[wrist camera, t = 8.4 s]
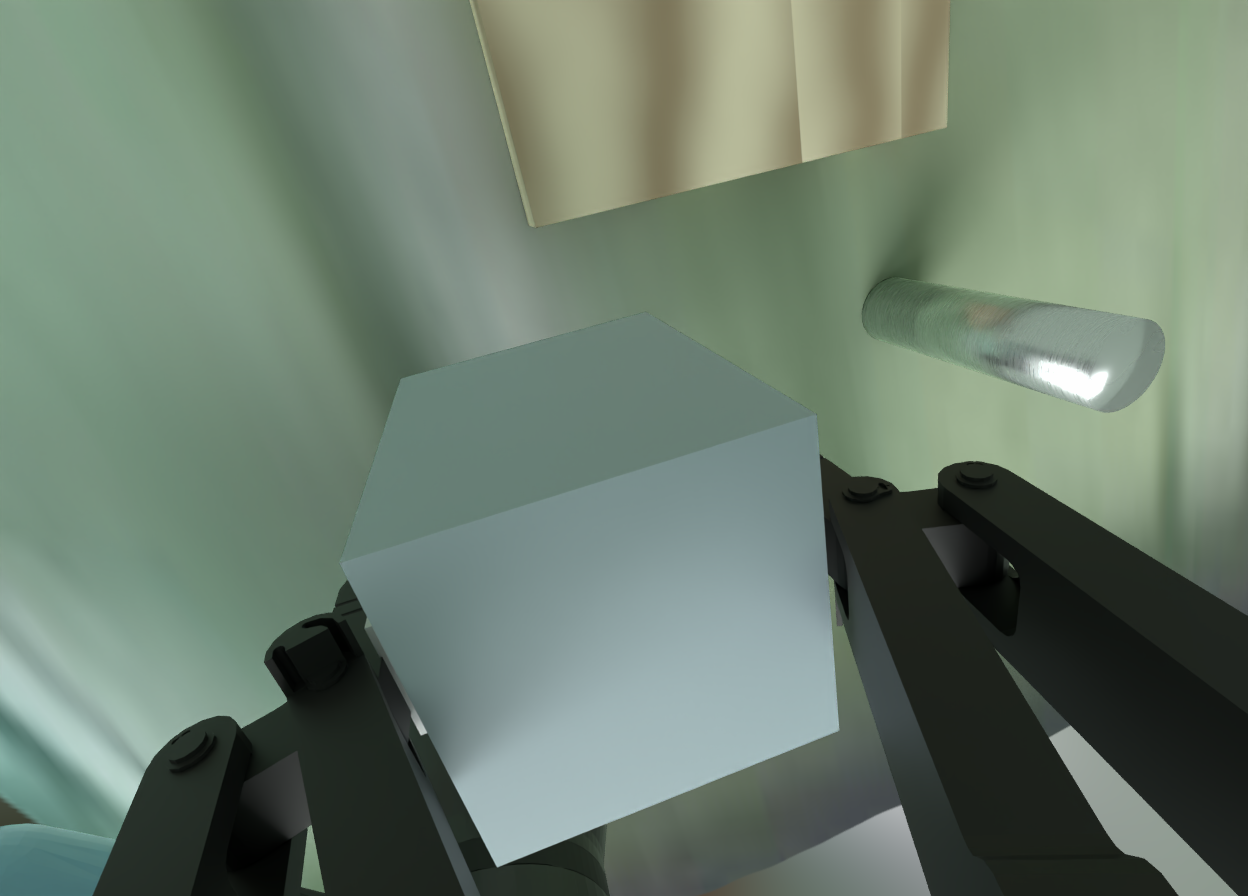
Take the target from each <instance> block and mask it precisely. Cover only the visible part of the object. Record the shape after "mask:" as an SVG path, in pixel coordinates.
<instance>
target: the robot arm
mask: <svg viewBox="0 0 1248 896" xmlns="http://www.w3.org/2000/svg"><path fill="white" fill-rule="evenodd" d="M819 455H820V454H819ZM820 469H821V483H822V497H823V511H824V525H825V539H826V553H827V567H828V574H829V575H830V576H831V577H832V579H833V580H834V587H835V602H836V618H837V626H843V624H844V627H845V630H846V633H847V636H848V639H849V642H850V645H851V649H852V652H853V655H854V658H855V661H856V664H857V667H858V670H859V673H860V677H861V680H862V683H863V686H864V689H865V692H866V695H867V698H868V701H869V705H870V708H871V711H872V714H873V717H874V720H875V723H876V726H877V729H878V732H879V736H880V739H881V742H882V745H883V748H884V751H885V754H886V757H887V760H888V764H889V767H890V770H891V773H892V776H893V779H894V782H895V785H896V788H897V791H898V795H899V798H900V801H901V804H902V807H903V810H904V813H905V816H906V819H907V823H908V825H909V829H910V832H911V835H912V838H913V841H914V844H915V847H916V850H917V853H918V857H919V860H920V863H921V866H922V869H923V872H924V875H925V878H926V881H927V884H928V888H929V891H930V894H931V896H1178V894H1177V893H1176V892H1175V890H1174V889H1173V888H1172V887H1171V885H1170V884H1169V883H1168V881H1167V880H1166V879H1165V878H1164V876H1163V875H1162V873H1161V872H1159V871H1158V870H1157V869H1156V868H1155V867H1154V866H1152V865H1151V864H1150V863H1149V862H1148V861H1147V860H1145V859H1143V858H1139V857H1135V856H1131V855H1126V854H1124V853H1123V852H1122V851H1121V850H1120V849H1118V848H1117V847H1116V846H1115V844H1114V843H1113V842H1112V840H1111V839H1110V837H1109V836H1108V834H1107V833H1106V831H1105V830H1104V828H1103V827H1102V825H1101V823H1100V822H1099V820H1098V818H1097V817H1096V815H1095V813H1094V812H1093V810H1092V808H1091V807H1090V805H1089V803H1088V802H1087V800H1086V798H1085V797H1084V795H1083V793H1082V792H1081V790H1080V788H1079V787H1078V785H1077V784H1076V782H1075V780H1074V779H1073V777H1072V775H1071V774H1070V772H1069V770H1068V769H1067V767H1066V765H1065V764H1064V762H1063V761H1062V759H1061V757H1060V756H1059V754H1058V752H1057V751H1056V749H1055V747H1054V746H1053V744H1052V742H1051V741H1050V739H1049V737H1048V736H1047V734H1046V732H1045V731H1044V729H1043V728H1042V726H1041V724H1040V723H1039V721H1038V719H1037V718H1036V716H1035V714H1034V713H1033V711H1032V709H1031V708H1030V706H1029V704H1028V703H1027V701H1026V700H1025V698H1024V696H1023V695H1022V693H1021V691H1020V690H1019V688H1018V686H1017V685H1016V683H1015V681H1014V680H1013V678H1012V676H1011V675H1010V673H1009V672H1008V670H1007V668H1006V667H1005V665H1004V663H1003V662H1002V660H1001V658H1000V657H999V655H998V653H997V652H996V650H997V651H998V652H999V653H1000V654H1001V655H1002V656H1003V657H1004V658H1005V659H1006V660H1007V661H1008V662H1009V663H1010V664H1011V665H1012V666H1013V667H1014V668H1015V669H1016V670H1017V671H1018V672H1019V673H1020V674H1021V675H1022V676H1023V677H1024V678H1025V679H1026V680H1027V681H1028V682H1029V683H1030V684H1031V685H1032V686H1033V687H1034V688H1035V689H1036V690H1037V691H1038V692H1039V693H1040V694H1041V695H1042V697H1043V698H1044V699H1045V700H1046V701H1047V702H1048V703H1049V704H1050V705H1051V706H1052V707H1053V708H1054V709H1055V710H1056V711H1057V712H1058V713H1059V714H1060V715H1061V716H1062V717H1063V718H1064V719H1065V720H1066V721H1067V722H1068V723H1069V724H1070V725H1071V726H1072V727H1073V728H1074V729H1075V730H1076V731H1077V732H1078V733H1079V734H1080V735H1081V736H1082V737H1083V738H1084V739H1085V740H1086V741H1087V742H1088V743H1089V744H1090V745H1091V746H1092V747H1093V748H1094V749H1095V750H1096V751H1097V752H1098V753H1099V754H1100V755H1101V756H1102V757H1103V759H1104V760H1106V762H1107V763H1109V765H1110V766H1112V767H1113V769H1114V770H1115V771H1116V772H1117V773H1118V774H1119V775H1120V776H1121V777H1122V778H1123V779H1124V780H1125V781H1126V782H1127V783H1128V784H1129V785H1130V786H1131V787H1132V788H1133V789H1134V790H1135V791H1136V792H1137V793H1138V794H1139V795H1140V796H1141V797H1142V798H1143V799H1144V800H1145V801H1146V802H1147V803H1148V804H1149V805H1150V806H1151V807H1152V808H1153V809H1154V810H1155V811H1156V812H1157V813H1158V814H1159V815H1160V816H1161V817H1162V818H1163V819H1164V821H1165V822H1167V824H1168V825H1170V827H1172V829H1173V830H1174V831H1175V832H1176V833H1177V834H1178V835H1179V836H1180V837H1181V838H1182V839H1183V840H1184V841H1185V842H1186V843H1187V844H1188V845H1189V846H1190V847H1191V848H1192V849H1193V850H1194V851H1195V852H1196V853H1197V854H1198V855H1199V856H1200V857H1201V858H1202V859H1203V860H1204V861H1205V862H1206V863H1207V864H1208V865H1209V866H1210V867H1211V868H1212V869H1213V870H1214V871H1215V872H1216V873H1217V874H1218V875H1219V876H1220V877H1221V878H1222V879H1223V880H1224V882H1226V884H1228V885H1229V887H1230V888H1231V889H1232V890H1233V891H1234V892H1235V893H1236V894H1237V895H1238V896H1248V616H1247V615H1245V614H1244V613H1242V612H1240V611H1239V610H1237V609H1235V608H1234V607H1232V606H1230V605H1229V604H1227V603H1226V602H1224V601H1222V600H1221V599H1219V598H1217V597H1216V596H1214V595H1212V594H1211V593H1209V592H1207V591H1206V590H1204V589H1203V588H1201V587H1199V586H1198V585H1196V584H1194V583H1193V582H1191V581H1189V580H1188V579H1186V578H1185V577H1183V576H1181V575H1180V574H1178V573H1176V572H1175V571H1173V570H1171V569H1170V568H1168V567H1166V566H1165V565H1163V564H1162V563H1160V562H1158V561H1157V560H1155V559H1153V558H1152V557H1150V556H1148V555H1147V554H1145V553H1144V552H1142V551H1140V550H1139V549H1137V548H1135V547H1134V546H1132V545H1130V544H1129V543H1127V542H1125V541H1124V540H1122V539H1121V538H1119V537H1117V536H1116V535H1114V534H1112V533H1111V532H1109V531H1107V530H1106V529H1104V528H1103V527H1101V526H1099V525H1098V524H1096V523H1094V522H1093V521H1091V520H1089V519H1088V518H1086V517H1085V516H1083V515H1081V514H1080V513H1078V512H1076V511H1075V510H1073V509H1071V508H1070V507H1068V506H1066V505H1065V504H1063V503H1062V502H1060V501H1058V500H1057V499H1055V498H1053V497H1052V496H1050V495H1048V494H1047V493H1045V492H1044V491H1042V490H1040V489H1039V488H1037V487H1035V486H1034V485H1032V484H1030V483H1029V482H1027V481H1025V480H1024V479H1022V478H1021V477H1019V476H1017V475H1016V474H1014V473H1012V472H1011V471H1009V470H1007V469H1005V468H1002V467H1000V466H998V465H994V464H989V463H985V462H979V461H975V462H973V461H967V462H962V463H955V464H952V465H950V466H947V467H945V468H943V469H942V470H941V471H940V472H939V473H938V488H934V489H926V490H918V491H910V492H899V490H898V489H897V488H896V487H895V486H894V485H893V484H892V483H890V482H888V481H885V480H883V479H880V478H874V477H868V476H865V477H851V476H850V475H849V474H847V473H846V472H844V471H843V470H842V469H840V468H839V467H837V466H836V465H834V464H833V463H832V462H830V461H829V460H827V459H826V458H823V456H822V455H820ZM1009 562H1010V563H1011V564H1012V565H1013V567H1014V569H1015V570H1014V569H1013V568H1012V567H1011V566H1009ZM335 607H336V608H334V610H333V613H324V614H319V615H315V616H312V617H310V618H308V619H305V620H303V621H300V622H299V623H297V624H296V625H294V626H292V627H291V628H289V629H288V630H286V631H285V632H284V633H283V634H281V635H280V636H279V637H278V638H277V639H276V640H275V641H274V642H273V643H272V645H271V646H270V647H269V649H268V650H267V652H266V655H265V660H264V663H265V665H266V666H267V668H268V669H269V671H270V673H271V674H272V676H273V677H274V679H275V680H276V682H277V683H278V685H279V686H280V688H281V690H282V691H283V693H284V694H285V696H286V697H287V702H286V703H285V704H283V705H282V706H280V707H279V708H277V709H275V710H274V711H272V712H270V713H269V714H267V715H265V716H263V717H262V718H260V719H258V720H256V721H254V722H253V723H251V724H249V725H247V726H246V727H244V728H242V729H241V728H240V727H239V725H238V724H237V722H236V721H235V720H233V719H232V718H231V717H230V716H216V717H212V718H209V719H206V720H202V721H200V722H199V723H197V724H195V725H193V726H191V727H189V728H187V729H185V730H184V731H182V732H180V733H179V734H178V735H176V736H175V737H174V738H173V739H171V740H170V741H169V742H168V743H167V744H166V745H165V746H164V747H163V748H162V749H161V750H160V751H159V752H158V753H157V754H156V755H155V756H154V758H153V760H152V761H151V763H150V764H149V766H148V768H147V769H146V771H145V773H144V776H143V778H142V780H141V783H140V785H139V787H138V790H137V792H136V794H135V797H134V799H133V801H132V804H131V806H130V808H129V811H128V813H127V815H126V818H125V820H124V823H123V825H122V827H121V830H120V832H119V834H118V837H117V839H111V838H106V837H101V836H96V835H91V834H86V833H81V832H76V831H71V830H66V829H61V828H56V827H51V826H46V825H39V824H17V825H7V826H2V827H0V896H610V894H609V890H608V885H607V880H606V875H605V870H604V854H605V841H606V829H607V824H604V825H602V826H599V827H597V828H594V829H592V830H589V831H587V832H584V833H582V834H579V835H577V836H574V837H572V838H569V839H567V840H564V841H562V842H559V843H557V844H554V845H552V846H549V847H547V848H544V849H542V850H539V851H537V852H534V853H532V854H529V855H527V856H524V857H522V858H519V859H517V860H514V861H512V862H509V863H507V864H504V865H502V866H499V867H497V866H496V864H495V862H494V860H493V858H492V857H491V855H490V853H489V851H488V849H487V847H486V845H485V843H484V841H483V839H482V837H481V835H480V833H479V831H478V830H477V828H476V826H475V824H474V822H473V820H472V818H471V816H470V814H469V812H468V810H467V808H466V806H465V804H464V803H463V801H462V799H461V797H460V795H459V793H458V791H457V789H456V787H455V785H454V783H453V781H452V779H451V777H450V776H449V774H448V772H447V770H446V768H445V766H444V764H443V762H442V760H441V758H440V756H439V754H438V752H437V751H436V749H435V747H434V745H433V743H432V741H431V739H430V737H429V735H428V733H427V731H426V729H425V727H424V725H423V724H422V722H421V720H420V718H419V716H418V714H417V712H416V710H415V708H414V706H413V704H412V702H411V700H410V698H409V697H408V695H407V693H406V691H405V689H404V687H403V685H402V683H401V681H400V679H399V677H398V675H397V673H396V671H395V670H394V668H393V666H392V664H391V662H390V660H389V658H388V656H387V654H386V652H385V650H384V648H383V646H382V645H381V643H380V641H379V639H378V637H377V635H376V633H375V631H374V629H373V627H372V625H371V623H370V621H369V619H368V618H367V616H366V614H365V612H364V610H363V608H362V606H361V604H360V602H359V600H358V598H357V596H356V594H355V592H354V591H353V589H352V587H351V585H350V583H349V581H348V580H347V581H346V582H345V584H344V585H343V586H342V587H341V589H340V590H339V593H338V597H337V600H336V603H335ZM995 649H996V650H995ZM310 825H312V829H313V834H314V839H315V844H316V849H317V854H318V859H319V865H320V870H321V875H322V880H323V885H324V890H325V893H322V892H318V891H314V890H310V889H306V888H302V887H301V881H302V872H303V864H304V856H305V847H306V839H307V831H308V830H307V827H309V826H310Z"/></svg>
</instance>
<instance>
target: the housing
mask: <svg viewBox="0 0 1248 896" xmlns="http://www.w3.org/2000/svg"><path fill="white" fill-rule="evenodd" d="M339 564H340V565H341V567H342V569H343V571H344V573H345V575H346V577H347V579H348V581H349V583H350V585H351V587H352V589H353V591H354V592H355V594H356V596H357V598H358V600H359V602H360V604H361V606H362V608H363V610H364V612H365V614H366V616H367V618H368V619H369V621H370V623H371V625H372V627H373V629H374V631H375V633H376V635H377V637H378V639H379V641H380V643H381V645H382V646H383V648H384V650H385V652H386V654H387V656H388V658H389V660H390V662H391V664H392V666H393V668H394V670H395V671H396V673H397V675H398V677H399V679H400V681H401V683H402V685H403V687H404V689H405V691H406V693H407V695H408V697H409V698H410V700H411V702H412V704H413V706H414V708H415V710H416V712H417V714H418V716H419V718H420V720H421V722H422V724H423V725H424V727H425V729H426V731H427V733H428V735H429V737H430V739H431V741H432V743H433V745H434V747H435V749H436V751H437V752H438V754H439V756H440V758H441V760H442V762H443V764H444V766H445V768H446V770H447V772H448V774H449V776H450V777H451V779H452V781H453V783H454V785H455V787H456V789H457V791H458V793H459V795H460V797H461V799H462V801H463V803H464V804H465V806H466V808H467V810H468V812H469V814H470V816H471V818H472V820H473V822H474V824H475V826H476V828H477V830H478V831H479V833H480V835H481V837H482V839H483V841H484V843H485V845H486V847H487V849H488V851H489V853H490V855H491V857H492V858H493V860H494V862H495V864H496V866H497V867H499V866H502V865H504V864H507V863H509V862H512V861H514V860H517V859H519V858H522V857H524V856H527V855H529V854H532V853H534V852H537V851H539V850H542V849H544V848H547V847H549V846H552V845H554V844H557V843H559V842H562V841H564V840H567V839H569V838H572V837H574V836H577V835H579V834H582V833H584V832H587V831H589V830H592V829H594V828H597V827H599V826H602V825H604V824H607V823H609V822H612V821H614V820H617V819H619V818H622V817H624V816H627V815H629V814H632V813H634V812H637V811H639V810H642V809H644V808H647V807H649V806H652V805H654V804H657V803H659V802H662V801H664V800H667V799H669V798H672V797H674V796H677V795H679V794H682V793H684V792H687V791H689V790H692V789H694V788H697V787H699V786H702V785H704V784H707V783H709V782H712V781H714V780H717V779H719V778H722V777H724V776H727V775H729V774H732V773H734V772H737V771H739V770H742V769H744V768H747V767H749V766H752V765H754V764H757V763H759V762H762V761H764V760H767V759H769V758H772V757H774V756H777V755H779V754H782V753H784V752H787V751H789V750H792V749H794V748H797V747H799V746H802V745H804V744H807V743H809V742H812V741H814V740H817V739H819V738H822V737H824V736H827V735H829V734H832V733H834V732H837V731H839V723H838V708H837V694H836V680H835V666H834V652H833V638H832V624H831V610H830V596H829V582H828V567H827V553H826V539H825V525H824V511H823V497H822V483H821V469H820V455H819V441H818V426H817V414H816V413H814V412H812V411H811V410H809V409H807V408H806V407H804V406H802V405H801V404H799V403H797V402H796V401H794V400H792V399H791V398H789V397H787V396H786V395H784V394H782V393H781V392H779V391H777V390H776V389H774V388H772V387H771V386H769V385H767V384H766V383H764V382H762V381H761V380H759V379H757V378H756V377H754V376H752V375H751V374H749V373H747V372H746V371H744V370H742V369H741V368H739V367H737V366H736V365H734V364H732V363H731V362H729V361H727V360H726V359H724V358H722V357H721V356H719V355H717V354H716V353H714V352H712V351H711V350H709V349H707V348H706V347H704V346H702V345H701V344H699V343H697V342H696V341H694V340H692V339H691V338H689V337H687V336H686V335H684V334H682V333H681V332H679V331H677V330H676V329H674V328H672V327H671V326H669V325H667V324H666V323H664V322H662V321H661V320H659V319H657V318H656V317H654V316H652V315H651V314H649V313H647V312H643V313H639V314H636V315H632V316H628V317H625V318H621V319H617V320H614V321H610V322H606V323H603V324H599V325H595V326H592V327H588V328H584V329H581V330H577V331H573V332H570V333H566V334H562V335H559V336H555V337H551V338H548V339H544V340H540V341H537V342H533V343H529V344H526V345H522V346H518V347H515V348H511V349H507V350H504V351H500V352H496V353H493V354H489V355H485V356H482V357H478V358H474V359H471V360H467V361H463V362H460V363H456V364H452V365H449V366H445V367H441V368H438V369H434V370H430V371H427V372H423V373H419V374H416V375H412V376H408V377H405V378H401V380H400V383H399V386H398V389H397V392H396V395H395V398H394V401H393V404H392V407H391V410H390V413H389V416H388V419H387V422H386V425H385V428H384V431H383V434H382V437H381V440H380V443H379V446H378V449H377V452H376V455H375V458H374V461H373V464H372V467H371V470H370V473H369V476H368V479H367V482H366V485H365V488H364V491H363V494H362V497H361V500H360V503H359V506H358V509H357V512H356V515H355V518H354V521H353V524H352V527H351V530H350V533H349V536H348V539H347V542H346V545H345V548H344V551H343V554H342V557H341V560H340V563H339Z"/></svg>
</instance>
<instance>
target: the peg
mask: <svg viewBox="0 0 1248 896" xmlns="http://www.w3.org/2000/svg"><path fill="white" fill-rule="evenodd" d="M862 320H863V325H864V328H865V330H866V331H867V333H868V334H869V335H870V336H871V337H873V338H875V339H878V340H881V341H884V342H887V343H890V344H893V345H896V346H899V347H902V348H906V349H909V350H912V351H915V352H918V353H921V354H924V355H927V356H930V357H933V358H936V359H939V360H943V361H946V362H949V363H952V364H955V365H958V366H961V367H964V368H967V369H970V370H973V371H977V372H980V373H983V374H986V375H989V376H992V377H995V378H998V379H1001V380H1004V381H1007V382H1011V383H1014V384H1017V385H1020V386H1023V387H1026V388H1029V389H1032V390H1035V391H1038V392H1041V393H1044V394H1048V395H1051V396H1054V397H1057V398H1060V399H1063V400H1066V401H1069V402H1072V403H1075V404H1078V405H1082V406H1085V407H1088V408H1091V409H1094V410H1097V411H1100V412H1114V411H1118V410H1120V409H1123V408H1125V407H1127V406H1128V405H1130V404H1131V403H1133V402H1134V401H1135V400H1137V399H1138V398H1139V397H1140V396H1141V395H1142V394H1143V393H1144V392H1145V391H1146V389H1147V388H1148V387H1149V386H1150V384H1151V383H1152V381H1153V380H1154V378H1155V376H1156V375H1157V373H1158V371H1159V368H1160V366H1161V363H1162V360H1163V356H1164V351H1165V338H1164V334H1163V331H1162V329H1161V328H1160V326H1159V325H1158V324H1157V323H1155V322H1154V321H1152V320H1148V319H1143V318H1137V317H1131V316H1125V315H1119V314H1113V313H1107V312H1101V311H1095V310H1089V309H1083V308H1077V307H1071V306H1065V305H1059V304H1053V303H1048V302H1042V301H1036V300H1030V299H1024V298H1018V297H1012V296H1006V295H1000V294H994V293H988V292H982V291H976V290H970V289H964V288H958V287H952V286H946V285H940V284H934V283H928V282H923V281H917V280H911V279H905V278H898V277H893V278H889V279H886V280H884V281H882V282H880V283H879V284H878V285H877V286H875V287H874V288H873V290H872V291H871V292H870V293H869V295H868V297H867V299H866V301H865V303H864V307H863V312H862Z"/></svg>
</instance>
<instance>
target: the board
mask: <svg viewBox="0 0 1248 896" xmlns="http://www.w3.org/2000/svg"><path fill="white" fill-rule="evenodd" d="M469 1H470V4H471V8H472V12H473V16H474V20H475V23H476V27H477V31H478V35H479V39H480V42H481V46H482V50H483V54H484V58H485V61H486V65H487V69H488V73H489V77H490V80H491V84H492V88H493V92H494V95H495V99H496V103H497V107H498V111H499V114H500V118H501V122H502V126H503V130H504V133H505V137H506V141H507V145H508V149H509V152H510V156H511V160H512V164H513V168H514V171H515V175H516V179H517V183H518V187H519V190H520V194H521V198H522V202H523V205H524V209H525V213H526V217H527V221H528V224H529V226H531V227H534V228H538V227H542V226H546V225H550V224H554V223H558V222H562V221H567V220H571V219H575V218H579V217H583V216H587V215H591V214H595V213H599V212H603V211H607V210H612V209H616V208H620V207H624V206H628V205H632V204H636V203H640V202H644V201H648V200H652V199H656V198H661V197H665V196H669V195H673V194H677V193H681V192H685V191H689V190H693V189H697V188H701V187H706V186H710V185H714V184H718V183H722V182H726V181H730V180H734V179H738V178H742V177H746V176H751V175H755V174H759V173H763V172H767V171H771V170H775V169H779V168H783V167H787V166H791V165H796V164H800V163H804V162H808V161H812V160H816V159H820V158H824V157H828V156H832V155H836V154H841V153H845V152H849V151H853V150H857V149H861V148H865V147H869V146H873V145H877V144H881V143H885V142H890V141H894V140H898V139H902V138H906V137H910V136H914V135H918V134H922V133H926V132H930V131H935V130H939V129H943V128H947V105H948V67H949V28H950V0H469Z"/></svg>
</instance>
